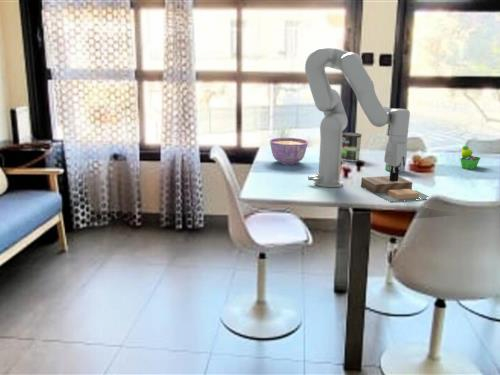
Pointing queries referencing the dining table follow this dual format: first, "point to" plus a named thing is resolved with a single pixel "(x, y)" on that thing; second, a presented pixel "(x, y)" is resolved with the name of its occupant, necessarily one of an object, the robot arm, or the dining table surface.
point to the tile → (403, 193)
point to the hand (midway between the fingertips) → (393, 180)
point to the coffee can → (350, 146)
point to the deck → (384, 184)
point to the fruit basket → (468, 159)
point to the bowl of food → (288, 149)
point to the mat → (390, 198)
